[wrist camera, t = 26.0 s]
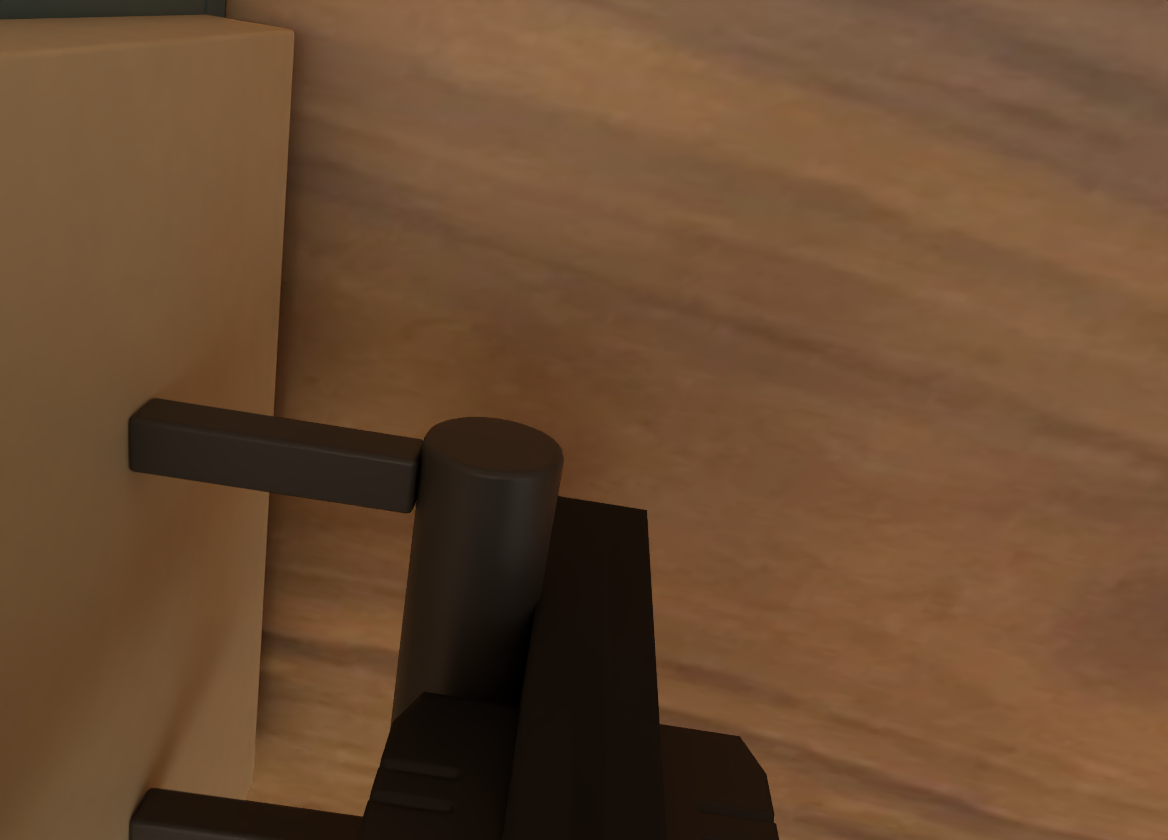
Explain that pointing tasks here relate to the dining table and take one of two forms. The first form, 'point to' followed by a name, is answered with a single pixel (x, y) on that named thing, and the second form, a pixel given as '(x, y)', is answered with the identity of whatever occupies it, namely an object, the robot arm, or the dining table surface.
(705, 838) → the robot arm
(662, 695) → the dining table surface
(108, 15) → the cabinet
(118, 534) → the drawer
